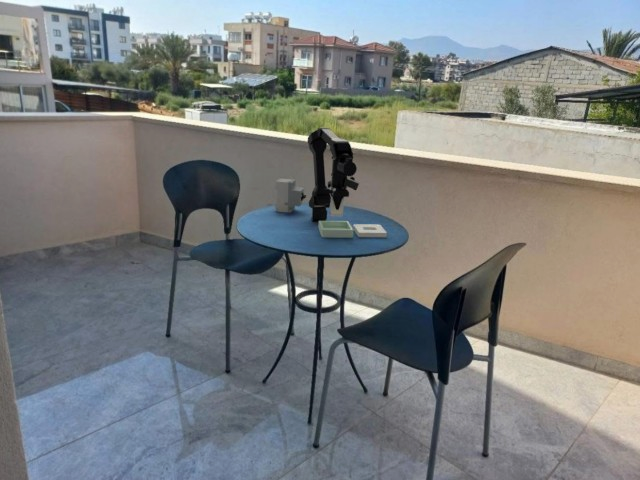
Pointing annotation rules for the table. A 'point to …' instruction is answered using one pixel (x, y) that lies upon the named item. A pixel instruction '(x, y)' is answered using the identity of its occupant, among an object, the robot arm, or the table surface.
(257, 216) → the table surface
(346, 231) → the parts tray
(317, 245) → the table surface
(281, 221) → the table surface
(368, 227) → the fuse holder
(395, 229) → the table surface
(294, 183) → the circuit breaker
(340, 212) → the block
